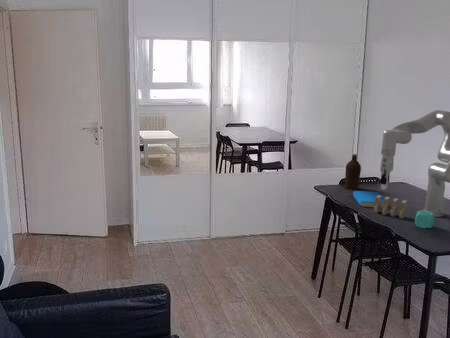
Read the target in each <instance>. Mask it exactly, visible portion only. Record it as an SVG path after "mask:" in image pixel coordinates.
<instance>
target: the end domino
mask: <svg viewBox="0 0 450 338" xmlns="http://www.w3.org/2000/svg"><path fill="white" fill-rule="evenodd" d="M384 172H386V171H384ZM384 174H386V173H384ZM388 174H389V173H388V172H387V176H386V178H387V181H386V185H384V184H380V185H381V186H380V190H383V191H385V190H386V189H387V188H388V183H387V182H388Z"/></svg>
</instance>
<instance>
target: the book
mask: <svg viewBox="0 0 450 338" xmlns="http://www.w3.org/2000/svg"><path fill="white" fill-rule="evenodd" d="M352 195H353V197H354V199H355V200H356V201H357V203H358V205H359V206H360V207H364V208H374V206H375V198H376V196H378V195H380V196H381V204H380V209H381V208H382V209H383V202H384V198H385V197H383V196H382V194H381V193H380V192H379V191H364V190H353V191H352Z"/></svg>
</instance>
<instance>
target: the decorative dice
mask: <svg viewBox="0 0 450 338" xmlns="http://www.w3.org/2000/svg"><path fill="white" fill-rule="evenodd" d="M434 222H435V217H434V214H433V213H432V212H429V211H422V210H418V211H417V212H416V215H415V218H414V224H415V225H416V227H418V228H421V229H426V228H429V229H431V228H433V225H434Z"/></svg>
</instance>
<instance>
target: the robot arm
mask: <svg viewBox="0 0 450 338" xmlns="http://www.w3.org/2000/svg"><path fill="white" fill-rule="evenodd" d="M438 126H441V129H442V130H443V133H444V137H443V140H442V143H441V145H440V146H439V150H438V152H437V160H439V161H441V162H443V163H440V162H433V163H431V164H430V165H429V166H428V170H427V175H428V182H427V183H428V184H427V188H426V189H427V190H426V197H425V202H424V203H425V205H424V208H423V209H421V211H429V212H432V213H433V214H434V218H435V217H436V218H441V217H444V216H445V215H447V216H448V215H450V211H449V210H446V209H445V208H444V207H443V205H444V204H443V203H444V197H445V190H446V184H445V183H447V184H449V183H450V111H447V110H440V109H437V110H433V111H431V112H429V113H427V114H425V115H424V116H422V117H419V118H417V119H415V120H411V121H407V122H403V123H401V124H398V125H396V126H394V127H393V128H391V129H390V130H389V129H386V130H384V131H383V134H382V141H381V142H382V143H381V152H380V155H382V157H381V162H380V170H379V171H380V172H381V174H380V181H379V182H380V185H381V184H384V185H386V181H387V178H386V176H387V172H388V173H389V174H388V182H387V184H389V182H390V176H391V175H390V174H391V173H392V171H393V170H394V162H395V156H396V149H397V144H399V145H400V144H401V145H407V144H409V143H410V142H411V141H412V139H413V136H412V134H424V133H427V132H429V131H430V130H433V129H434V128H435V127H438ZM445 163H447V164H445ZM384 171H386V172H384ZM384 173H386V174H384Z"/></svg>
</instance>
